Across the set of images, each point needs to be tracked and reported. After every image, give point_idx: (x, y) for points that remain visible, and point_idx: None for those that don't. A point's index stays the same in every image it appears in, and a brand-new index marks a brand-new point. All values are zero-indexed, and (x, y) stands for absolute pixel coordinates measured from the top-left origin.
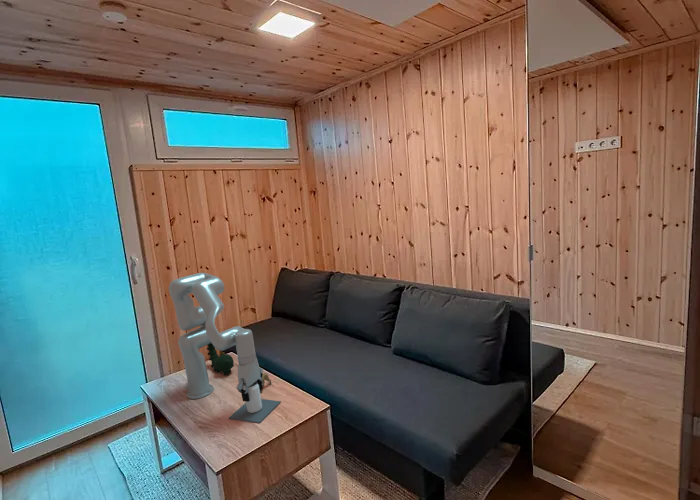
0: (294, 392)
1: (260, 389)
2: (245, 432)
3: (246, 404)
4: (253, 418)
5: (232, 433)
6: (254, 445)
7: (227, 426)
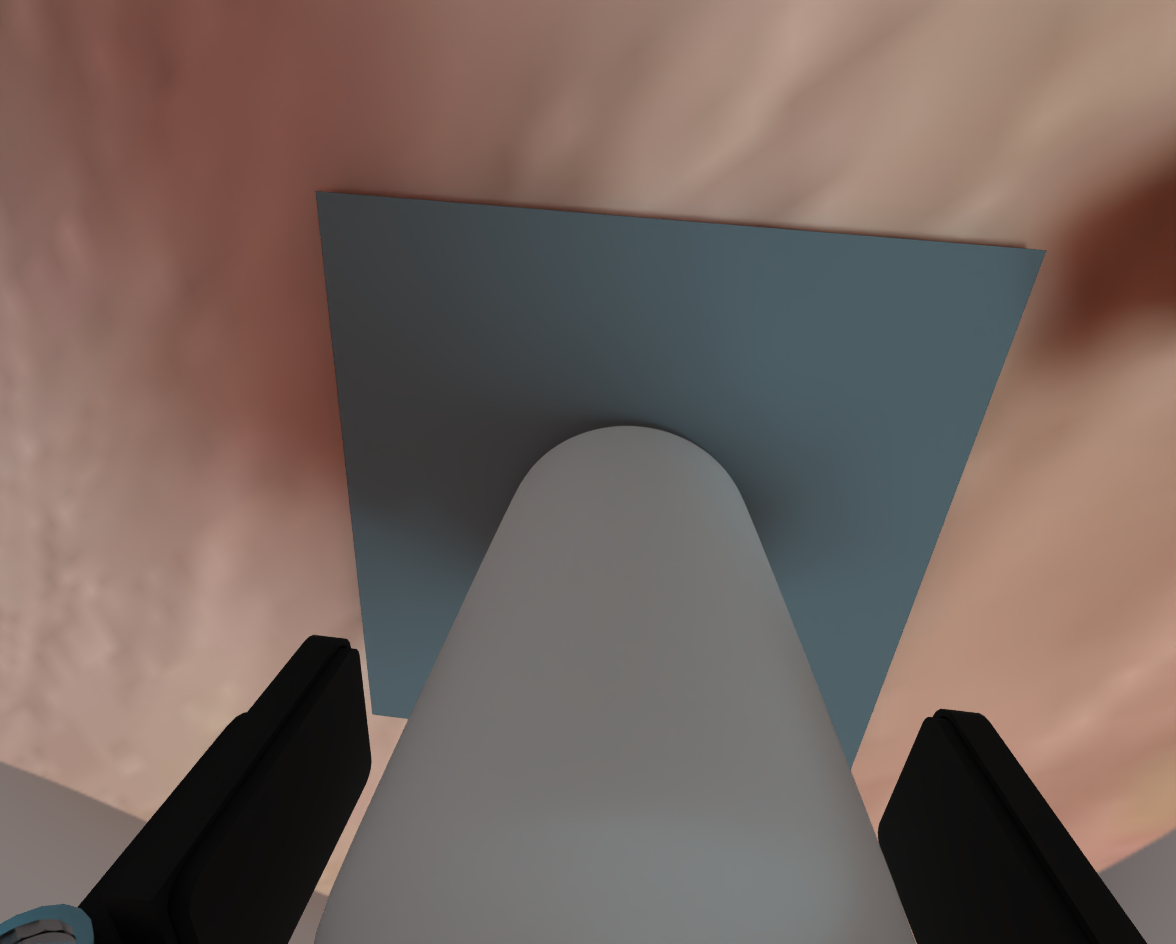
0: (1097, 826)
1: (888, 817)
2: (187, 623)
3: (501, 528)
4: (413, 616)
5: (96, 483)
6: (89, 779)
7: (166, 309)
